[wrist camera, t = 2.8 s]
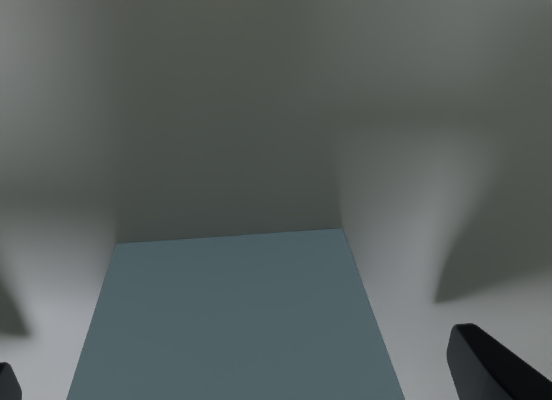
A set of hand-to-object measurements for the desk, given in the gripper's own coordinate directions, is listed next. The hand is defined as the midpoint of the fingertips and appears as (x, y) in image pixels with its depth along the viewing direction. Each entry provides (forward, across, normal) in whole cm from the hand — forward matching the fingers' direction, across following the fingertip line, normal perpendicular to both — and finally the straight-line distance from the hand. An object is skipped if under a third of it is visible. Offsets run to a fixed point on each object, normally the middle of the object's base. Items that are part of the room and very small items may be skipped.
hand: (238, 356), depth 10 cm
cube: (+1, 0, 0) cm, 1 cm away
